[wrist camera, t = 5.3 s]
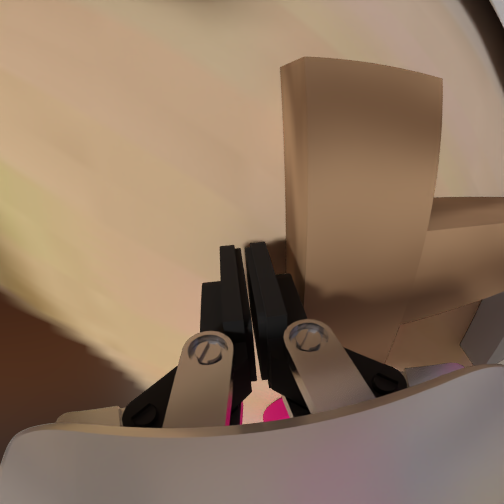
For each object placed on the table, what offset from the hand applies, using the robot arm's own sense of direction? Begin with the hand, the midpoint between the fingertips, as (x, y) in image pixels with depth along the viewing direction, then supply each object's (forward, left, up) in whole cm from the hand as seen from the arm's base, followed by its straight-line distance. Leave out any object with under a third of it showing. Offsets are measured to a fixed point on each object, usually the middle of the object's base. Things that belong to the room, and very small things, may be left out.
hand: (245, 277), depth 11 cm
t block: (0, +9, -1) cm, 9 cm away
